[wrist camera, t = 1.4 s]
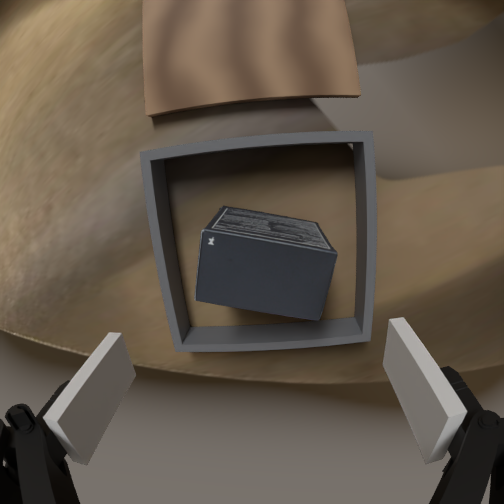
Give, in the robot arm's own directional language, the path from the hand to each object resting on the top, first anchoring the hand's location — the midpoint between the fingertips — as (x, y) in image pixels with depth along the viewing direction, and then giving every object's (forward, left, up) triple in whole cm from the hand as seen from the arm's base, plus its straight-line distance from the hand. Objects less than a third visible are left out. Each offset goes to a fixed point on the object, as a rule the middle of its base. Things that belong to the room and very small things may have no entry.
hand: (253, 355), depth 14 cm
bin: (0, 0, -20) cm, 20 cm away
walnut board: (0, -24, -20) cm, 31 cm away
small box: (0, 0, -21) cm, 21 cm away
